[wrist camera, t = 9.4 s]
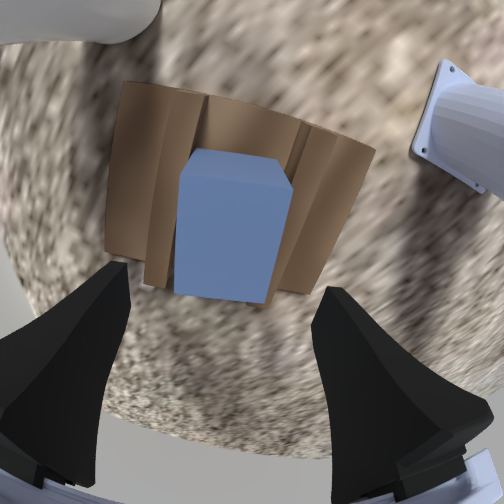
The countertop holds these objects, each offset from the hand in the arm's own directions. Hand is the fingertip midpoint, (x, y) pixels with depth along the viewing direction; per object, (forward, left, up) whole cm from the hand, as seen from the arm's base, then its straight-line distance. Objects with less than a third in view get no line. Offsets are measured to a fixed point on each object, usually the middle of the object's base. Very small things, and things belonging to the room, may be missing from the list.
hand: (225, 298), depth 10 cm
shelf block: (0, 0, -8) cm, 8 cm away
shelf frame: (0, 0, -10) cm, 10 cm away
